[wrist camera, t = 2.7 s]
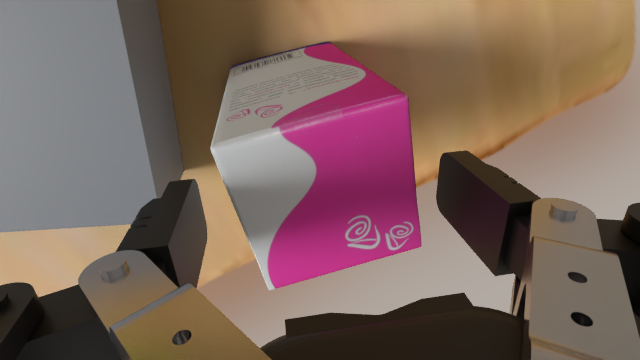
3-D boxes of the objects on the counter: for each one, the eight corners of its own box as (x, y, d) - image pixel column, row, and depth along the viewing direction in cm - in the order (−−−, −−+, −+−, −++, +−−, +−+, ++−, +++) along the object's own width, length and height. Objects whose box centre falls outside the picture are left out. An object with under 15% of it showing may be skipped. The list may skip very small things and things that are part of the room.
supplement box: (260, 162, 22) (262, 298, 12) (228, 64, 20) (198, 137, 10) (351, 138, 23) (427, 252, 13) (333, 38, 20) (411, 82, 10)
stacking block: (-159, -83, 15) (-384, -126, 10) (147, -70, 17) (96, -100, 12) (-39, 178, 20) (-143, 241, 15) (184, 168, 22) (161, 222, 17)
